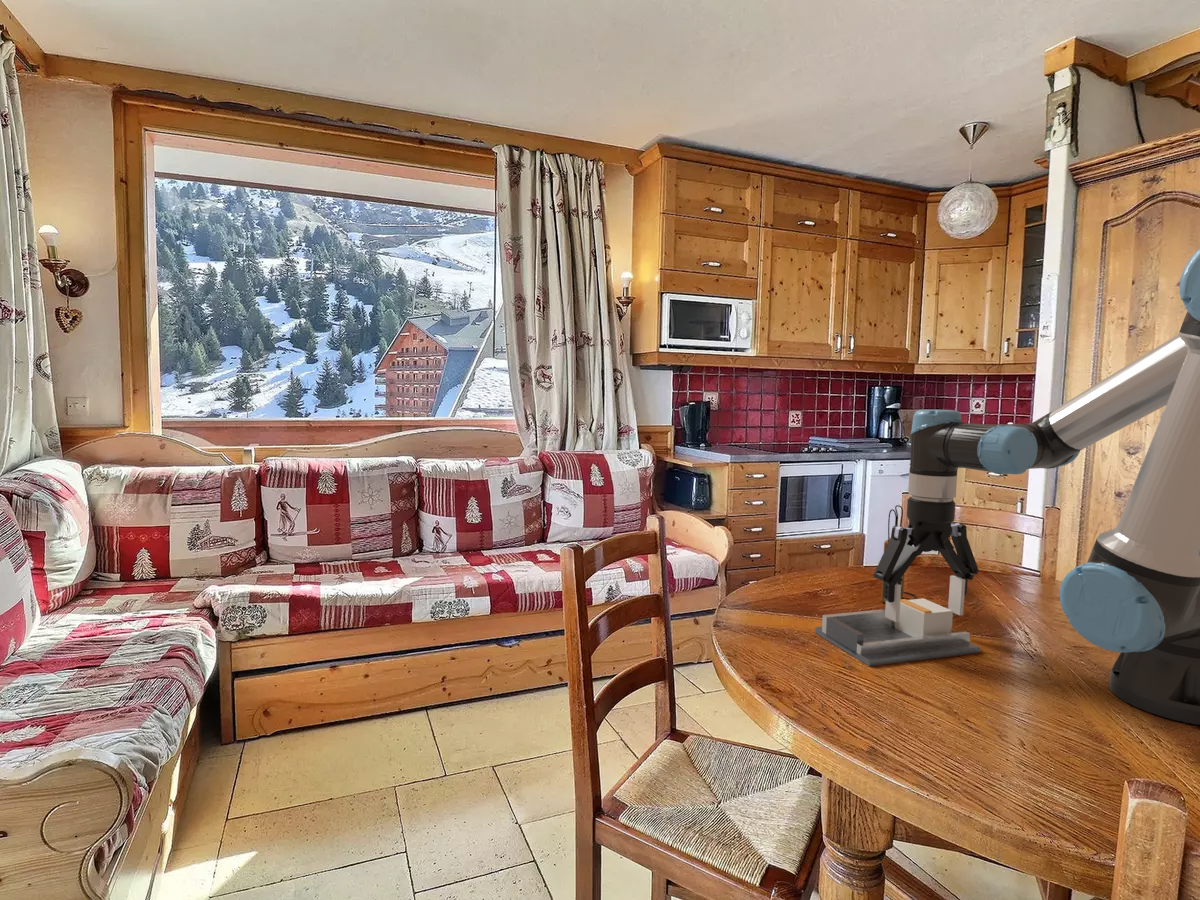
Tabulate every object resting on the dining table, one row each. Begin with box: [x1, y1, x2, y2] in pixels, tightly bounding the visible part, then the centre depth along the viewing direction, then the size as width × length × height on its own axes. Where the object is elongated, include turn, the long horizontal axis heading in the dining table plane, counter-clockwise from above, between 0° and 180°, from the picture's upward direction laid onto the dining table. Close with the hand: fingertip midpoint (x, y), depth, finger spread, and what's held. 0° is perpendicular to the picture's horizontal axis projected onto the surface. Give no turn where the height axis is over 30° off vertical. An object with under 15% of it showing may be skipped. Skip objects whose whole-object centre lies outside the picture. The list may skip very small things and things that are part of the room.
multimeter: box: [880, 504, 918, 604], centre depth 138 cm, size 15×10×20 cm
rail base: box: [814, 608, 981, 667], centre depth 117 cm, size 15×22×4 cm
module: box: [895, 598, 954, 637], centre depth 119 cm, size 7×6×5 cm
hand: (924, 616), depth 119 cm, fingers open, 13 cm apart
